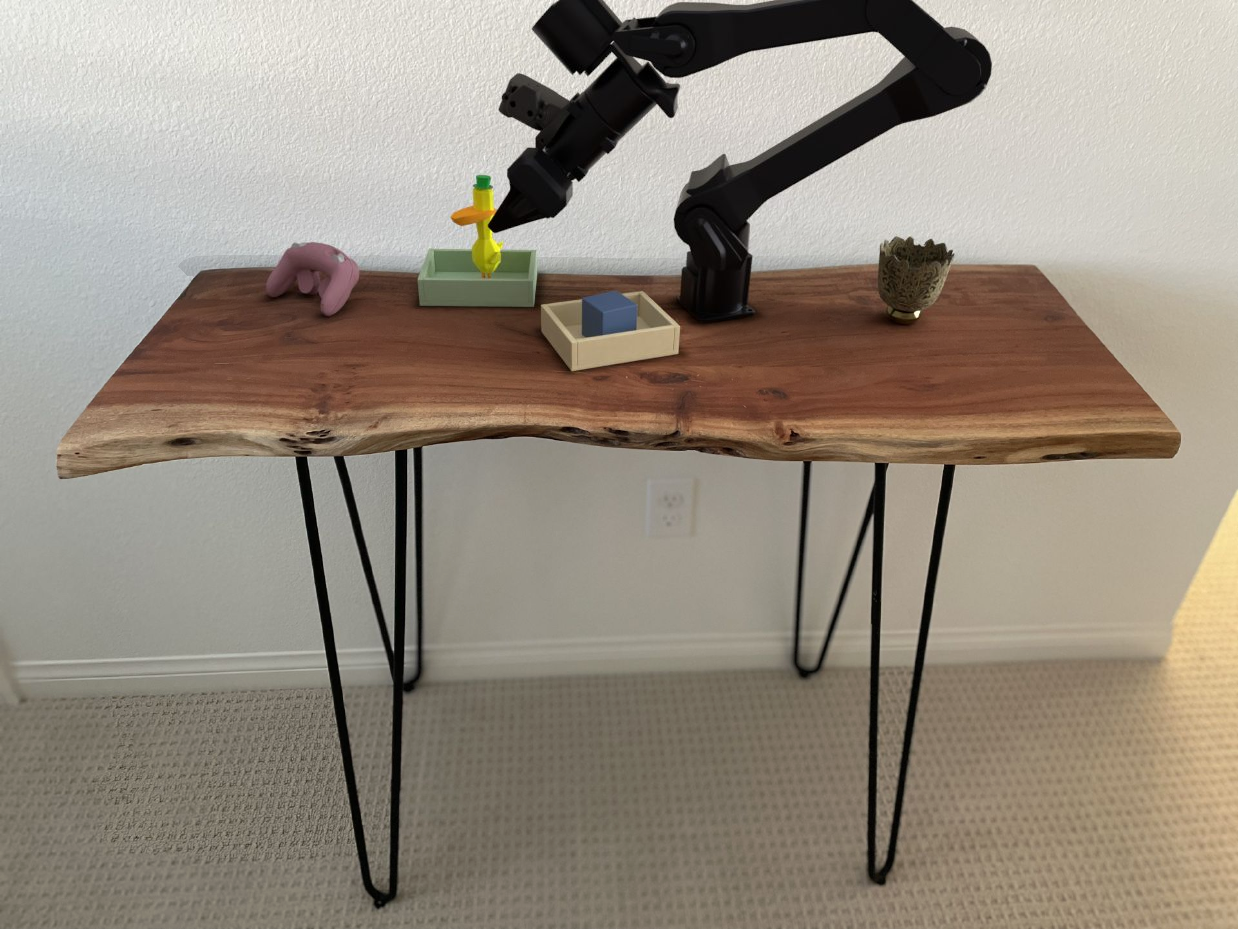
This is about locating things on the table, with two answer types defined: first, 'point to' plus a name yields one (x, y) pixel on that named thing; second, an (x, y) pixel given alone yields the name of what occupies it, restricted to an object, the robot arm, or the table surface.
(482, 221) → the toy figure
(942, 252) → the cup
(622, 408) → the table surface
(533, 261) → the green tray
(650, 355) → the beige tray
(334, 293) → the video game controller
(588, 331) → the slate block
